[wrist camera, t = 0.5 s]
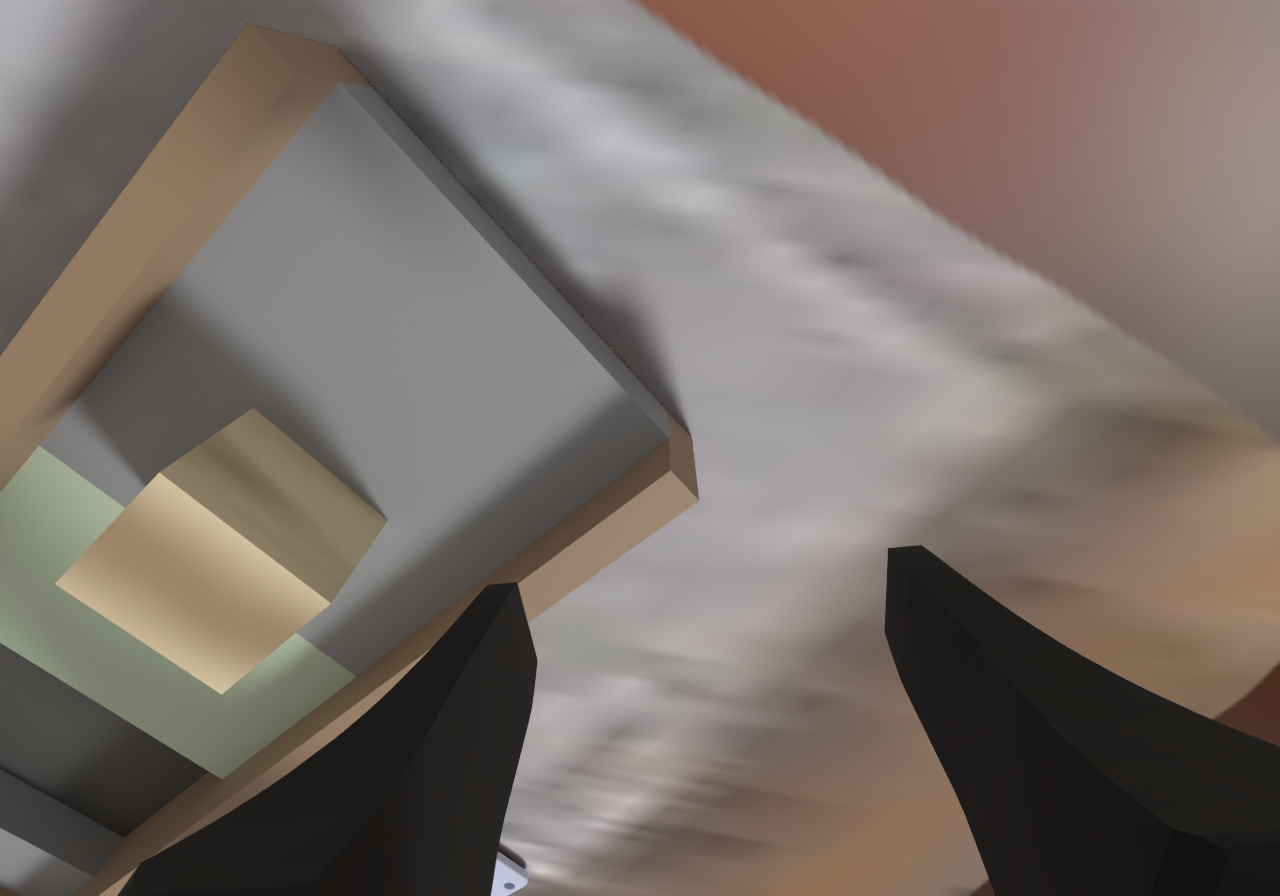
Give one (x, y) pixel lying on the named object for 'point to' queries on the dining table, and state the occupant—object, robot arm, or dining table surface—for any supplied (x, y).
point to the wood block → (227, 552)
